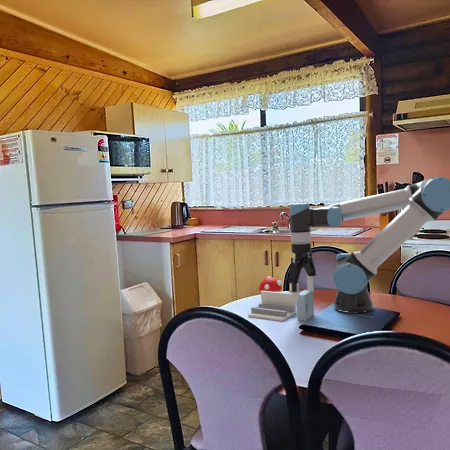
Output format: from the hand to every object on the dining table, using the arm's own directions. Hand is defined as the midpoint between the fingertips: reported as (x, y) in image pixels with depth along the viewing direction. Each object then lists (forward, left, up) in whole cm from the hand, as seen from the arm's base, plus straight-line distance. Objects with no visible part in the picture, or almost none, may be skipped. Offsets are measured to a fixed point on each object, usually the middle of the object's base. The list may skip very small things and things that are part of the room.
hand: (303, 295), depth 164 cm
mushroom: (+23, -13, -9) cm, 28 cm away
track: (+14, +2, -9) cm, 16 cm away
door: (0, 0, -9) cm, 9 cm away
